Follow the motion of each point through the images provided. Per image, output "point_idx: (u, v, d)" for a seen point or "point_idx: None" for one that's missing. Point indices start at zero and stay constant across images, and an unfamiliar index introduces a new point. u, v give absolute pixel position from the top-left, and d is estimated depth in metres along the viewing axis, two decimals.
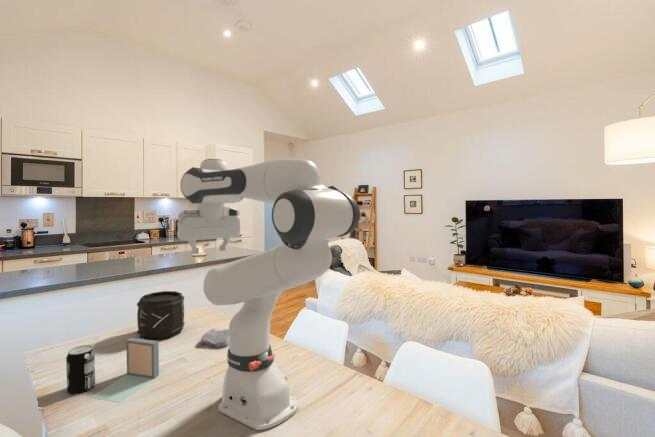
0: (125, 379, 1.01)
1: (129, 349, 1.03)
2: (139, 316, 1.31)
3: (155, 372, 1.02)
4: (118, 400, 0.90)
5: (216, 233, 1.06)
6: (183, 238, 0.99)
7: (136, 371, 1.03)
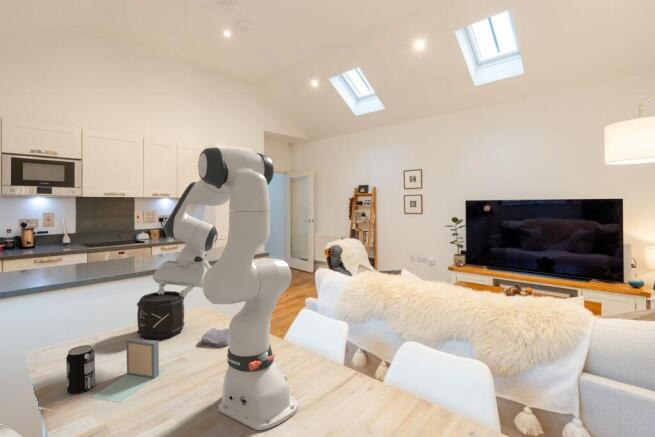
0: (125, 379, 1.01)
1: (129, 349, 1.03)
2: (139, 316, 1.31)
3: (155, 372, 1.02)
4: (118, 400, 0.90)
5: (180, 276, 1.18)
6: (153, 276, 1.20)
7: (136, 371, 1.03)
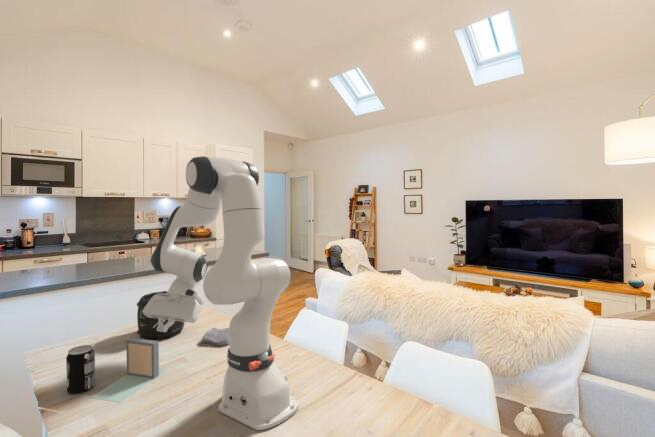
0: (125, 379, 1.01)
1: (129, 349, 1.03)
2: (139, 316, 1.31)
3: (155, 372, 1.02)
4: (118, 400, 0.90)
5: (170, 311, 1.14)
6: (143, 310, 1.16)
7: (136, 371, 1.03)
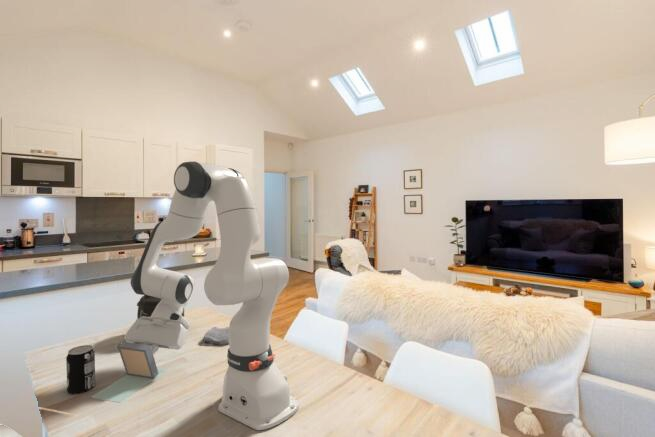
0: (125, 379, 1.01)
1: (122, 354, 1.01)
2: (139, 316, 1.31)
3: (153, 373, 1.01)
4: (118, 400, 0.90)
5: (154, 337, 1.06)
6: (125, 337, 1.08)
7: (134, 372, 1.02)
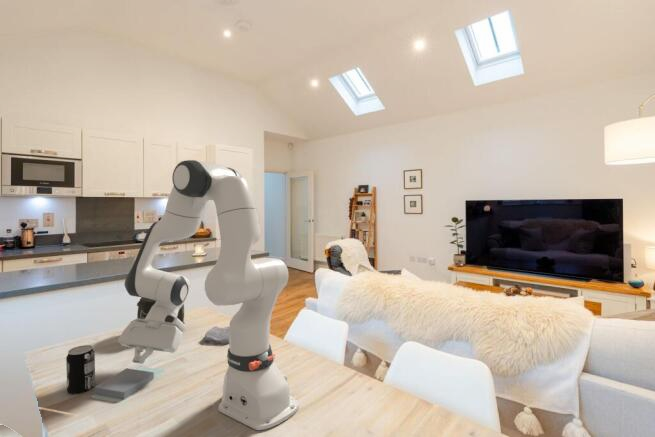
0: None
1: None
2: (139, 316, 1.31)
3: (149, 380, 1.00)
4: (118, 400, 0.90)
5: (148, 340, 1.04)
6: (118, 339, 1.06)
7: None
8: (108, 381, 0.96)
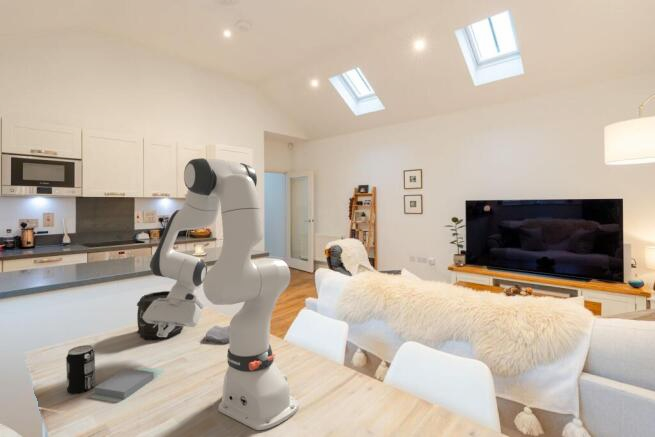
0: None
1: None
2: (139, 316, 1.31)
3: (149, 380, 1.00)
4: (118, 400, 0.90)
5: (170, 316, 1.13)
6: (143, 316, 1.15)
7: None
8: (108, 381, 0.96)
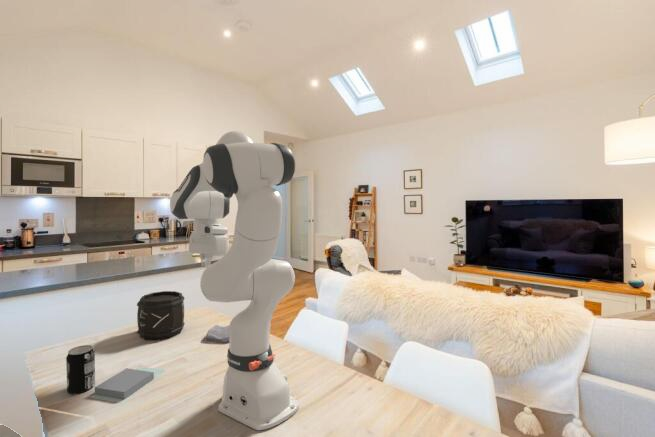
0: None
1: None
2: (139, 316, 1.31)
3: (149, 380, 1.00)
4: (118, 400, 0.90)
5: (203, 249, 1.17)
6: (189, 250, 1.24)
7: None
8: (108, 381, 0.96)
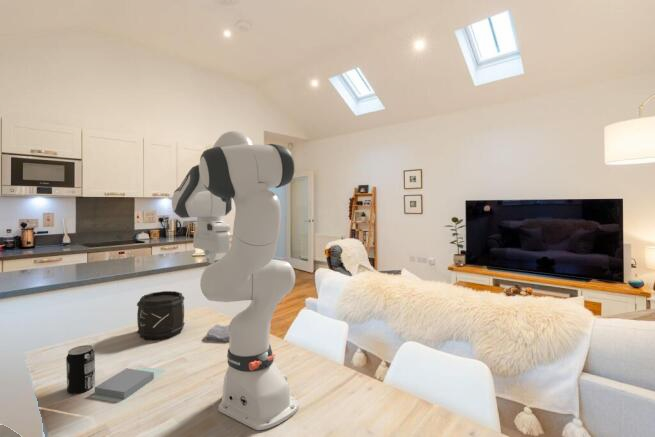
0: None
1: None
2: (139, 316, 1.31)
3: (149, 380, 1.00)
4: (118, 400, 0.90)
5: (207, 245, 1.17)
6: None
7: None
8: (108, 381, 0.96)
